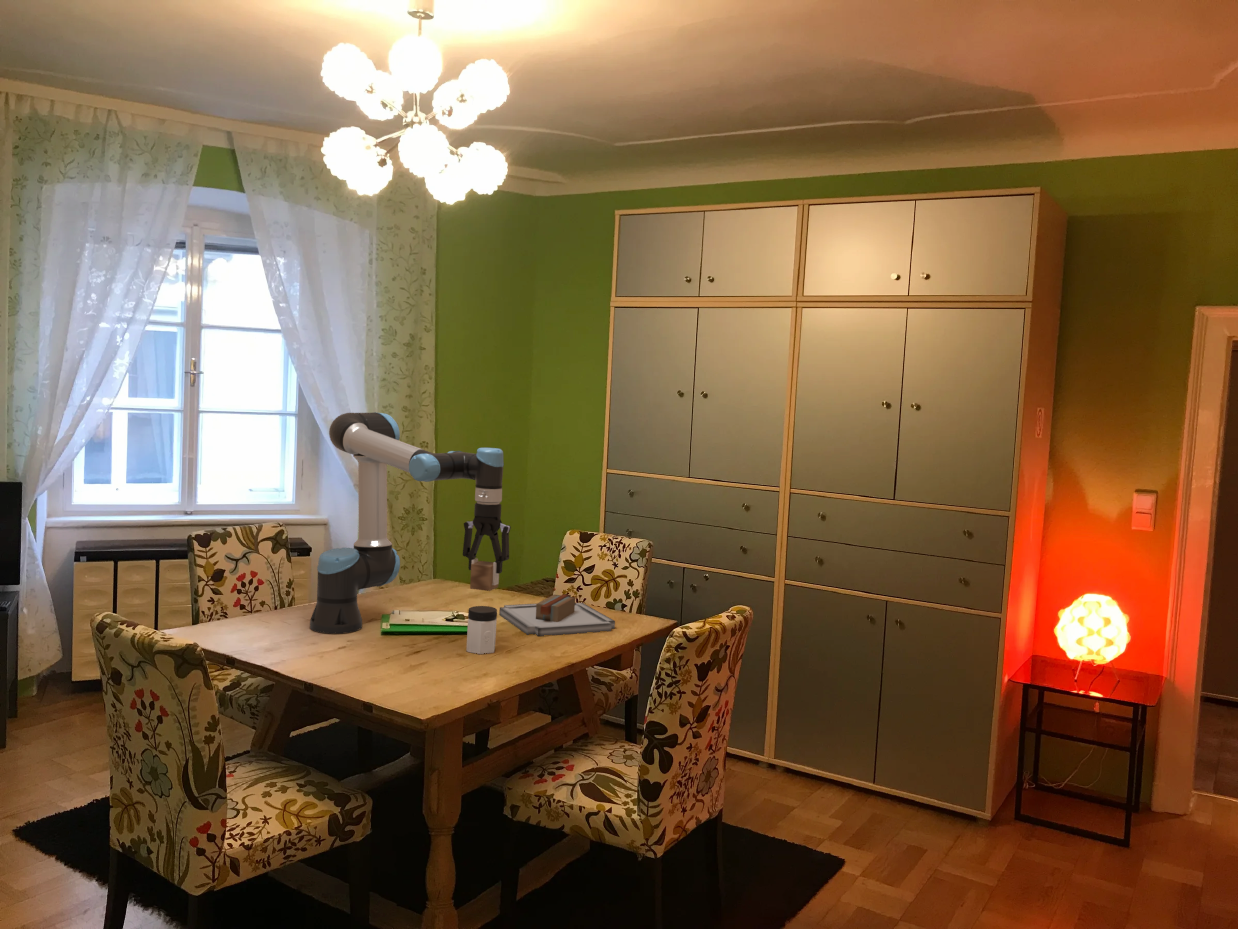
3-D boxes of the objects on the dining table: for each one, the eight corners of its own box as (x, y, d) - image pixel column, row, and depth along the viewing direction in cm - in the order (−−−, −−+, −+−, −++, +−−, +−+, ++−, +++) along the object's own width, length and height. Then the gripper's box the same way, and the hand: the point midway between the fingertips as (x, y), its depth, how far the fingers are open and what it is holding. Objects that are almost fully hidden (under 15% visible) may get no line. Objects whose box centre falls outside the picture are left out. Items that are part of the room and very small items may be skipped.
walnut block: (470, 588, 279) (471, 564, 278) (479, 584, 284) (480, 560, 284) (489, 591, 277) (490, 566, 276) (498, 587, 283) (499, 563, 282)
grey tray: (618, 632, 313) (619, 609, 312) (530, 639, 300) (531, 614, 299) (578, 610, 340) (580, 588, 339) (496, 615, 326) (497, 592, 325)
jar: (472, 655, 277) (474, 613, 276) (460, 648, 283) (462, 607, 282) (501, 652, 282) (503, 611, 281) (488, 644, 288) (490, 604, 287)
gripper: (451, 501, 278) (448, 581, 280) (514, 507, 272) (510, 589, 274) (463, 498, 285) (460, 577, 287) (524, 504, 280) (520, 584, 282)
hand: (484, 582), depth 281 cm, fingers closed on walnut block, 6 cm apart
